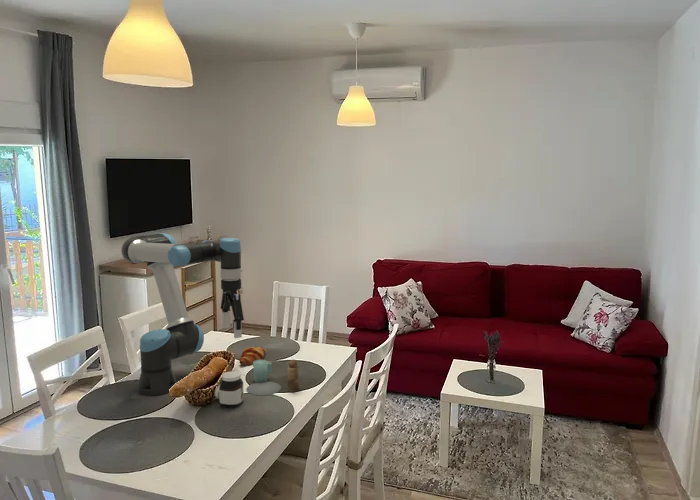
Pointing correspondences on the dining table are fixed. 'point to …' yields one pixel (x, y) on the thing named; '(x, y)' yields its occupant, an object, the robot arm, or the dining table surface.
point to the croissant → (252, 355)
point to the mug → (261, 370)
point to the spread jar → (230, 389)
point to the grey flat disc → (263, 388)
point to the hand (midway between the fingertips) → (232, 332)
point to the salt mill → (293, 376)
